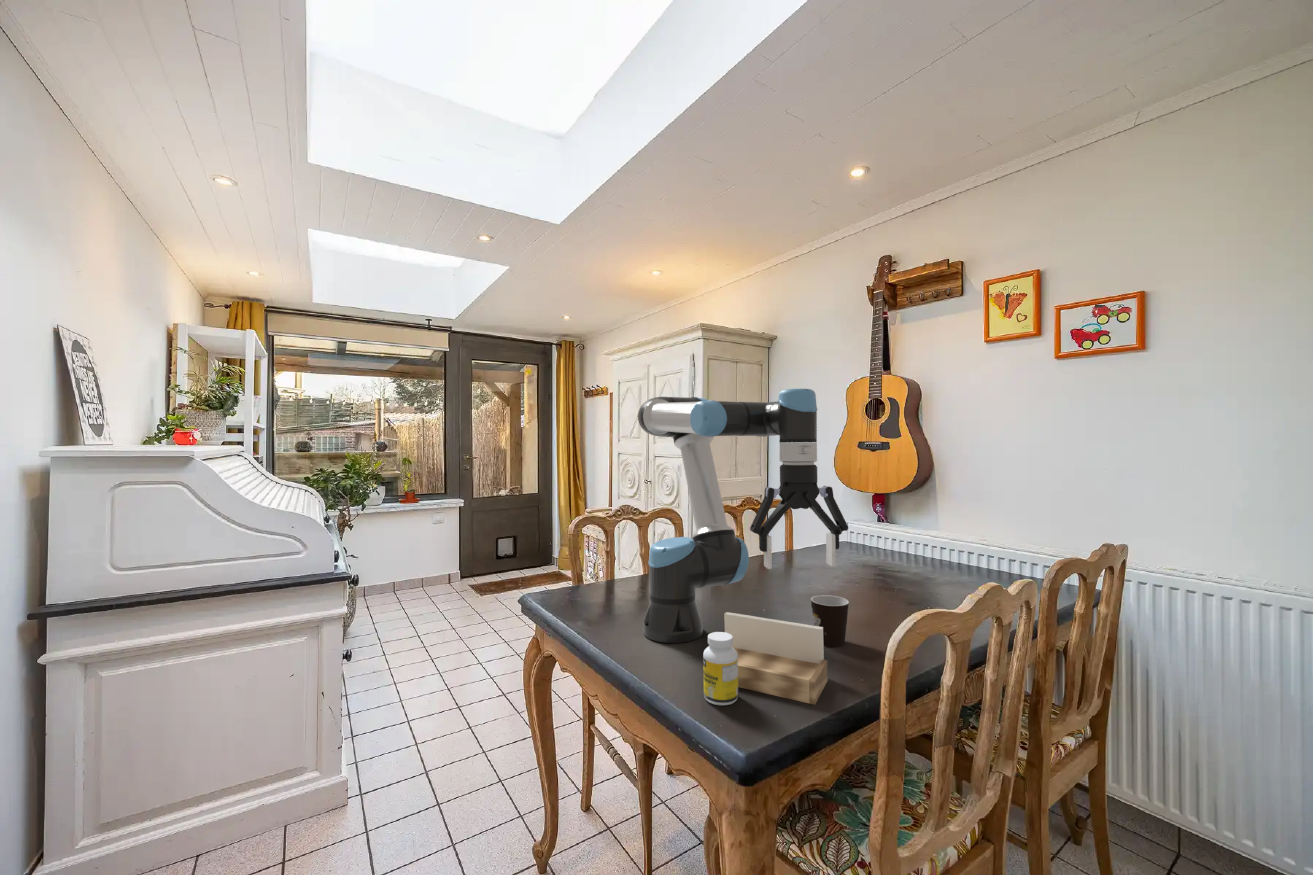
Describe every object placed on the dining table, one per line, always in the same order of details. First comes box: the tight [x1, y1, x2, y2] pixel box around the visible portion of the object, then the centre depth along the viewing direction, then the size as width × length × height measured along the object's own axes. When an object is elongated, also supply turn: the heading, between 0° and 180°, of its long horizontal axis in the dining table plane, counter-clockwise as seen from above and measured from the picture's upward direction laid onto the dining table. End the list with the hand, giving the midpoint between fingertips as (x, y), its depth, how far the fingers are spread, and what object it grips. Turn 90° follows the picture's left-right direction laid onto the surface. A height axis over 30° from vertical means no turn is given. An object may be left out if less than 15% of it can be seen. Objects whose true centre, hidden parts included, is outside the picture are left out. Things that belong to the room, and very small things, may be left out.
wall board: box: [723, 611, 825, 664], centre depth 109 cm, size 21×2×10 cm, turn 60°
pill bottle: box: [702, 631, 739, 706], centre depth 96 cm, size 6×6×12 cm
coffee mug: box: [810, 594, 850, 649], centre depth 124 cm, size 12×9×10 cm
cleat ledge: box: [732, 647, 829, 706], centre depth 104 cm, size 22×11×4 cm, turn 60°
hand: (799, 566), depth 106 cm, fingers open, 13 cm apart
